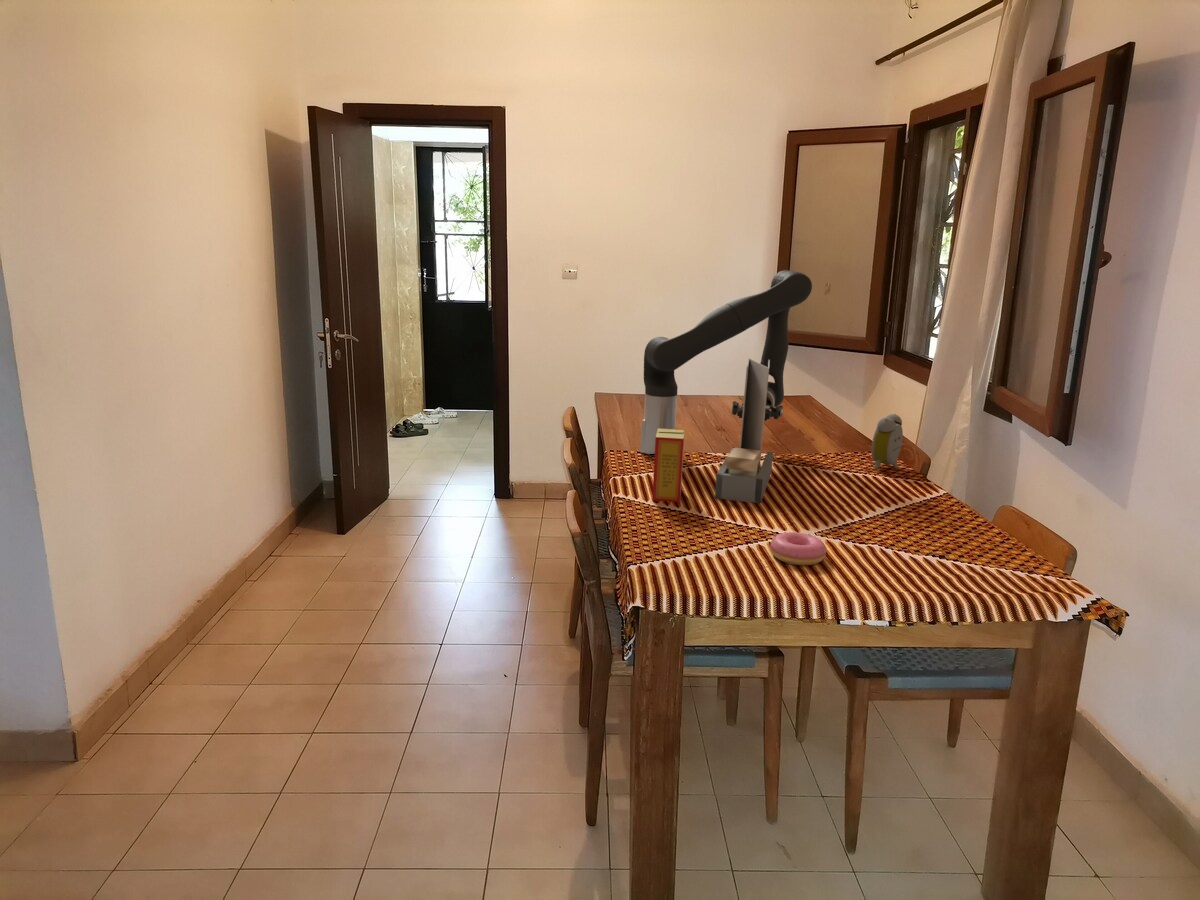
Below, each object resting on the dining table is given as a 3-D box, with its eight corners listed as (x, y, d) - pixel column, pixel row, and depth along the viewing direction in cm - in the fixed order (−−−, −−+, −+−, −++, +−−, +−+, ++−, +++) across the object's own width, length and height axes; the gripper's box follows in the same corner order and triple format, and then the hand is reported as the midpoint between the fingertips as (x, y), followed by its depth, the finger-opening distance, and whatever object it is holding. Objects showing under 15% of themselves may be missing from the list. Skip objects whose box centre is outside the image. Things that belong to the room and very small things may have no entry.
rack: (714, 498, 198) (716, 474, 197) (730, 469, 223) (732, 448, 222) (760, 503, 195) (762, 479, 194) (771, 473, 220) (773, 452, 219)
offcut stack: (724, 496, 200) (726, 457, 197) (729, 485, 209) (732, 447, 207) (753, 500, 198) (757, 460, 195) (758, 488, 207) (761, 450, 205)
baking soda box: (679, 502, 194) (683, 437, 190) (652, 501, 195) (655, 435, 191) (681, 491, 203) (684, 428, 199) (654, 489, 204) (658, 426, 200)
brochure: (758, 484, 209) (769, 368, 201) (736, 482, 210) (746, 366, 202) (759, 469, 223) (769, 359, 215) (738, 467, 224) (748, 358, 216)
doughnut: (816, 548, 169) (818, 529, 168) (832, 569, 158) (835, 548, 157) (763, 547, 168) (765, 527, 167) (776, 568, 158) (778, 547, 157)
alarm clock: (880, 462, 236) (887, 411, 232) (905, 466, 232) (911, 414, 229) (868, 470, 227) (874, 417, 223) (892, 475, 223) (899, 421, 219)
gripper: (735, 387, 230) (726, 398, 214) (787, 392, 226) (782, 404, 210) (733, 414, 232) (724, 426, 216) (784, 419, 228) (779, 432, 212)
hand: (753, 415), depth 213 cm, fingers closed on brochure, 6 cm apart
